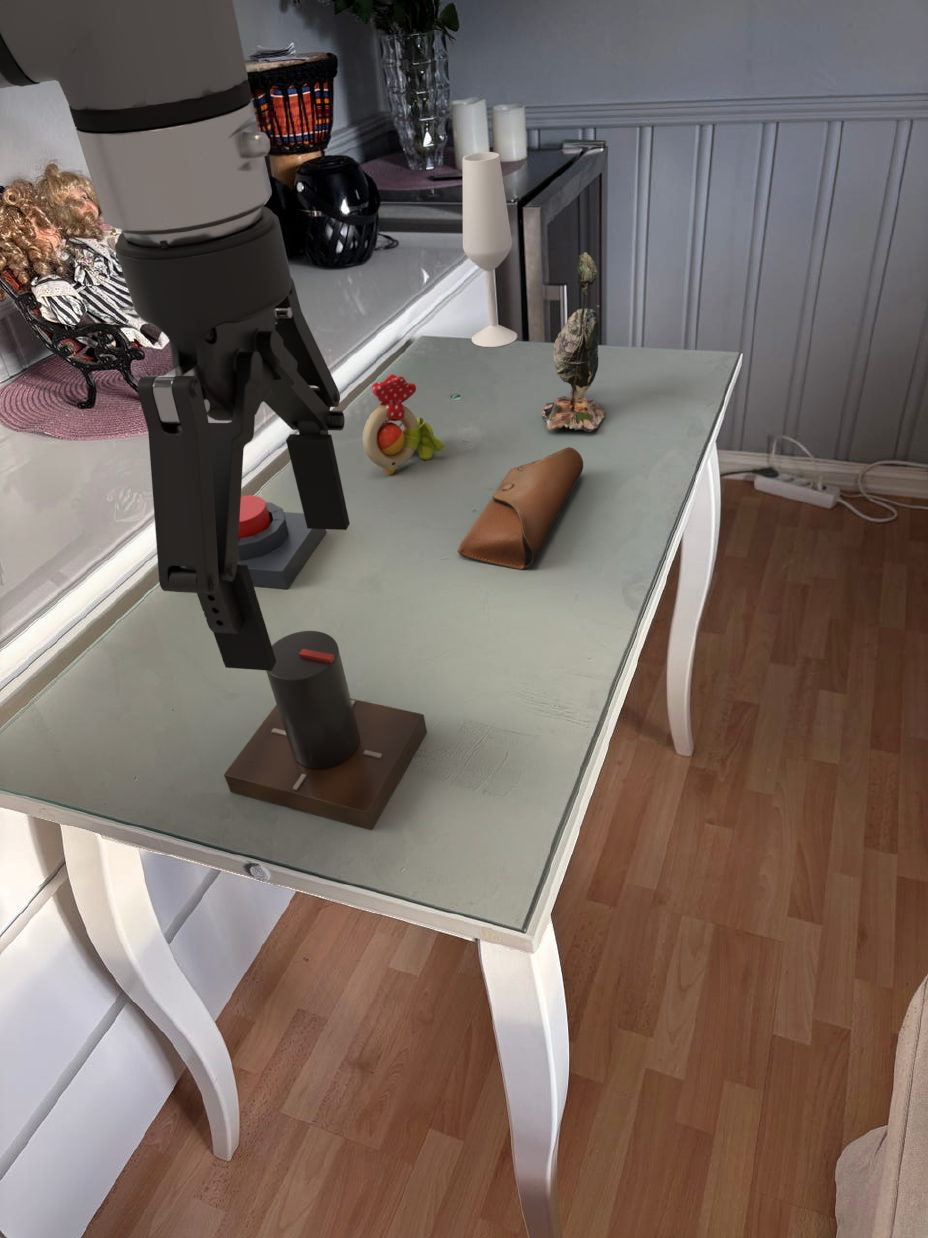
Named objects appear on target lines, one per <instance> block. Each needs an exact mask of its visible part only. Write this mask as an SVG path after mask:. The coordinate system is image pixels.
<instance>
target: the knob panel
mask: <svg viewBox="0 0 928 1238" xmlns="http://www.w3.org/2000/svg"><path fill="white" fill-rule="evenodd" d="M351 702H352V706H353V710H354V715H355V719H356V723H357V727H358V731H359V736H360V740H359V744H358V747H357V749H356V751H355V752H354V753H353V754H352V755H351V756H350V757H349V758H348V759H347V760H345V761H344V762H342V763H340V764H338V765H336V766H333V767H329V768H324V769H313V768H309V767H305V766H303V765H301V764H300V763H298V762H297V761H296V760H295V758H294V757H293V755H292V752H291V748H290V745H289V742H288V739H287V736H286V732H285V729H284V726H283V723H282V720H281V717H280V713H279V710H278V707H277V704H276V703H275V706H274V707H273V708H272V710H271V711H270V712H269V714H268V715H267V716H266V718H265V719H264V720H263V722H262V723H261V724H260V726H259V727H258V728H257V730H256V731H255V733H254V734H253V735H252V736H251V738H250V739H249V741H248V742H246V744H245V745H244V747H243V748H242V750H241V751H240V752H239V754H238V755H237V757H235V759H234V760H233V762H232V763H231V764H230V765H229V767H228V768H227V770H226V771H225V773H224V774H223V776H224V778H225V779H224V780H225V781H226V784H227V786H228V789H229V792H230V793H234V794H237V795H241V796H245V797H248V798H251V799H255V800H258V801H262V802H267V803H270V804H273V805H277V806H281V807H285V808H288V809H292V810H296V811H300V812H303V813H306V814H307V813H308V814H309V815H310V814H311V815H314V816H319V817H322V818H326V819H328V820H333V821H337V822H340V823H344V824H348V825H350V826H355V827H359V828H362V829H366V830H370V831H372V830H373V829H374V828H375V825H376V823H377V822H378V820H379V818H380V817H381V815H382V812H383V811H384V809H385V807H386V805H387V804H388V802H389V800H390V799H391V797H392V795H393V793H394V792H395V789H396V787H397V786H398V785H399V782H400V780H401V779H402V777H403V776H404V774H405V771H406V770H407V768H408V767H409V764H410V763H411V761H412V760H413V758H414V756H415V754H416V752H417V751H418V748H419V747H420V745H421V743H422V742H423V740H424V738H425V736H426V734H427V732H428V731H427V725H426V718H425V715H424V714H423V713H419V712H415V711H410V710H405V709H401V708H397V707H396V708H395V707H392V706H387V705H383V704H378V703H373V702H368V701H363V700H359V699H355V698H351Z"/></svg>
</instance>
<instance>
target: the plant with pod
mask: <svg viewBox="0 0 928 1238" xmlns="http://www.w3.org/2000/svg"><path fill="white" fill-rule="evenodd" d="M576 268H577V285H578V287H579V288H581V289H582V290H583V291H582V295H583V300H582V304H583V305H582V308H578V309H577V310H576V311H574V312H573V313H572V314H571V316H570V317H568V319H567V320H566V323H565V324H564V326H563V327H562V330H560V332H559V333H558V334H557V337H556V339H555V340H554V345H553V346H552V347H553V354H552V355H553V363H554V367H555V370H556V375H557V376H558V377H559V378H560V379H561V381H563V382H564V383H566V384H569V385H570V387H571V388H570V397H567V396H561V397H558V398H556V399H555V400H554V401H552V402H549V403H548V402H546V404H545V406H544V409H543V410H541V413H540V414H541V416H543V417H544V418H543V419H542V420H543V421H545V424H546V425H545V426H546V430H549V431H553V430H558V429H561V428H563V427H565V428H566V429H568V427H569V429H570V430H571V429H574V431H577V430H579V431H581V430H582V431H583V430H584V432H588V433H591V432H593V431H596V430H598V427H599V426H600V424H601V422H602V419H604V417H606V409H605V408H602V406H601V407H600V403H598V401H597V400H595V399H594V398H593V399H590V400H589V399H586V398H585V395H586V393H587V392H588V390H589V389H590V387H591V386H592V384H593V382H594V380H595V378H596V375H597V372H598V370H599V369H598V368H599V340H600V338H599V337H600V324H599V318H598V314H597V311H596V310H594V309H590V308H588V307H587V308H585V307H586V301H587V296H588V294H589V293H588V288H589V287H590V286H591V285H593V284H594V283H595V282H596V279H597V276H598V271H597V265H596V263H595V261H594V260H593V258H592V257H591V255H589V253H588V252H585V251H584V252H583V253H581V254H580V255H578V258H577V263H576ZM596 307H598V308H599V307H601V306H600V305H598V304H596Z"/></svg>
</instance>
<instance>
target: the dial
mask: <svg viewBox="0 0 928 1238" xmlns="http://www.w3.org/2000/svg"><path fill="white" fill-rule="evenodd" d="M271 645H272V648H273V652H274V655H275V658H276V663H275V665H274V667H273V669H272V671H266V670H265V671H266V675H267V678H268V682H269V685H270V689H271V691H272V694H273V697H274V700H275V705H276V704H277V707H278V710H279V713H280V717H281V720H282V723H283V726H284V729H285V732H286V736H287V739H288V742H289V745H290V748H291V752H292V755H293V757H294V758H295V760H296V761H297V762H298V763H300V764H301V765H303V766H305V767H309V768H313V769H324V768H329V767H333V766H336V765H338V764H340V763H342V762H344V761H345V760H347V759H348V758H349V757H350V756H351V755H352V754H353V753H354V752H355V751H356V749H357V747H358V744H359V740H360V736H359V731H358V727H357V723H356V719H355V715H354V710H353V706H352V702H351V699H352V698H351V694H350V691H349V686H348V682H347V678H346V674H345V671H344V665H343V661H342V656H341V653H340V649H339V645H338V643H337V641H336V639H335V638H334V637H332V636H331V635H330V634H327V633H326V632H322V631H318V630H302V631H297V632H293V633H290V634H288V635H287V634H286V635H285V636H283V637H281V638H280V639H278V640H277V641H275V642H274V643H273V644H271Z"/></svg>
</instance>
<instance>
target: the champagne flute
mask: <svg viewBox="0 0 928 1238" xmlns="http://www.w3.org/2000/svg"><path fill="white" fill-rule="evenodd" d="M501 165H502V164H501V158H500V154H499V153H498V152H495V151H483V152H482V151H481V152H475V153H474V152H473V153H470V154H466V155H465V156H463V157H462V249H463V252H464V254H465V255H466V257H467V258H468V259H469V261H471V262H472V263H473V264H474V265H476V266H477V267H478V268H479V269H481V270H483V271H484V274H485V275H484V276H485V285H486V300H487V312H488V314H487V315H488V325H487V326H485V327H484V328H482V329H481V330H480V331H478V332H476V333H475V334H474V335H473V336H472V337H471V342H472V343H473V344H474V345H475V346H477V347H478V346H479V347H484V348H497V347H502V346H506V345H509V344H511V343H513V342H515V341H516V340H517V339H518V333H517V332H515V331H514V330H512V329H509V328H507V327H506V326H502V325H500V324H498V312H497V300H496V299H497V297H496V284H495V271H494V270H495V269H497V268H498V267H499V266H500V265H501V264H502V263H503V262H504V261H505V259H506V258H507V257H508V255H509V253H510V251H511V249H512V246H513V239H512V232H511V225H510V219H509V212H508V205H507V199H506V192H505V185H504V177H503V172H502V166H501Z"/></svg>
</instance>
